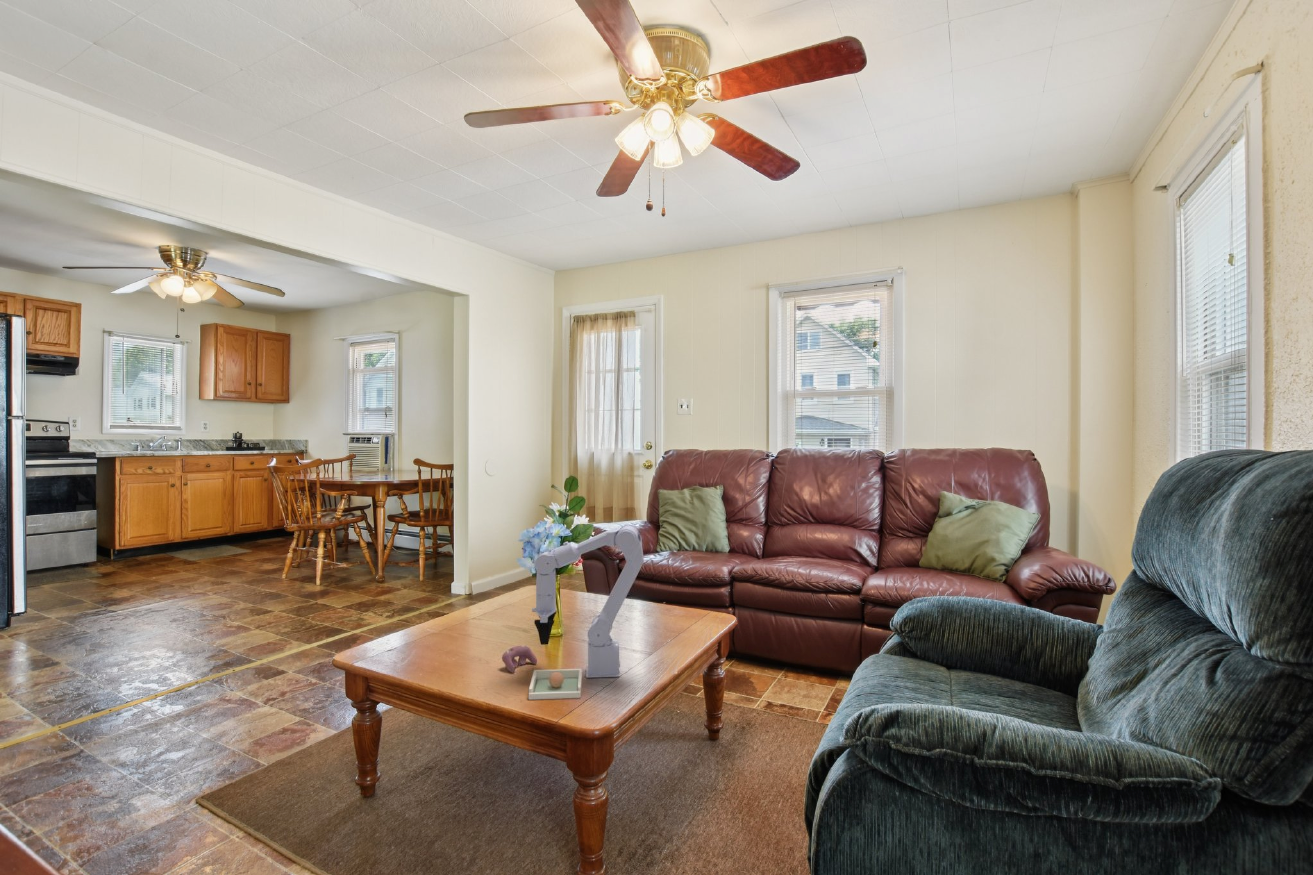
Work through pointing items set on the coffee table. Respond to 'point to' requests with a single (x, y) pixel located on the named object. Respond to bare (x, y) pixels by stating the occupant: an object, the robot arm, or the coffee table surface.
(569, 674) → the tray
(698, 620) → the coffee table surface
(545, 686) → the mat
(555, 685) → the ball
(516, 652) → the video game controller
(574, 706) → the coffee table surface
